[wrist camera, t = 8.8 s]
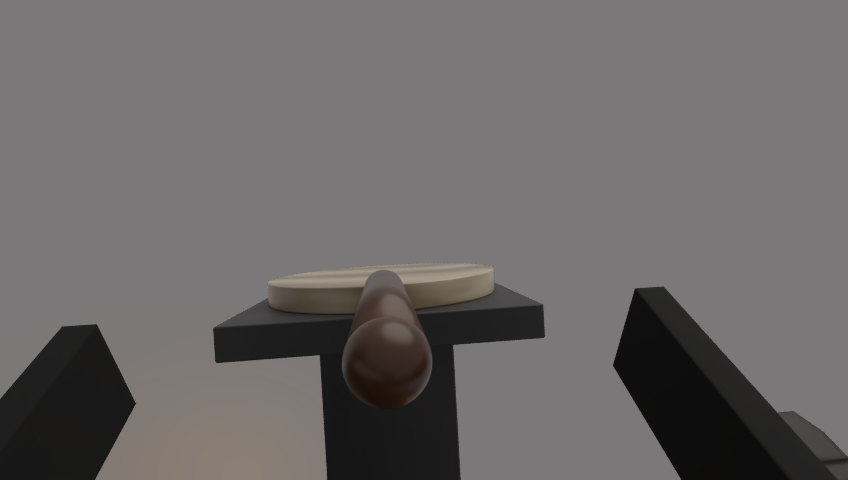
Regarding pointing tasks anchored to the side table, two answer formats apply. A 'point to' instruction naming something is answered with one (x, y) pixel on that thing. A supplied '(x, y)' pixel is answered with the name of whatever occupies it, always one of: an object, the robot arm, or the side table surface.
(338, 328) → the square pedestal stand
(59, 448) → the robot arm
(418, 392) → the wooden paddle
